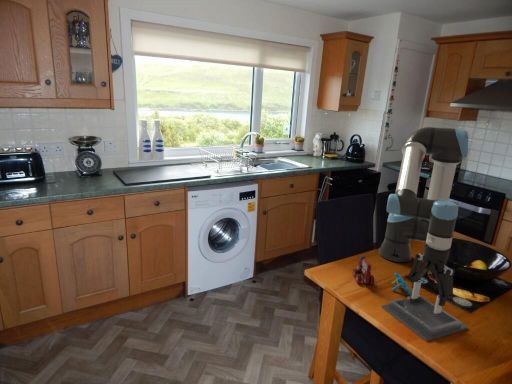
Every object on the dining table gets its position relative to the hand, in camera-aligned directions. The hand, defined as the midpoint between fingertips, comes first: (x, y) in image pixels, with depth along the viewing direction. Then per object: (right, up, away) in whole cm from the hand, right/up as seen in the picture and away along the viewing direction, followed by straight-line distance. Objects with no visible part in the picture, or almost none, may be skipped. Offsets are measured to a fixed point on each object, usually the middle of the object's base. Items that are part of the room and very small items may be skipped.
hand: (425, 305), depth 120 cm
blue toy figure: (+1, -2, +18) cm, 18 cm away
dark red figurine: (-14, +2, +26) cm, 30 cm away
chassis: (0, -5, +1) cm, 5 cm away
